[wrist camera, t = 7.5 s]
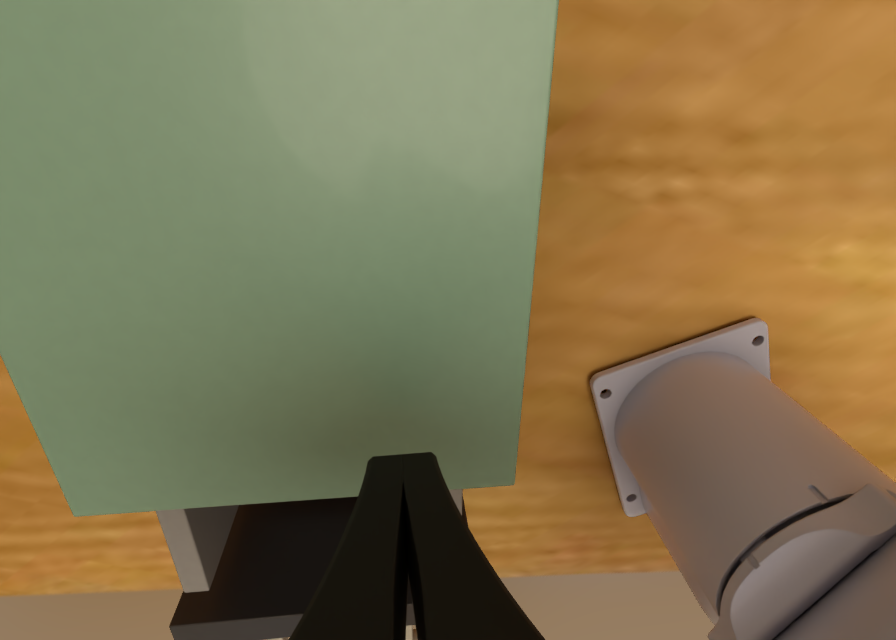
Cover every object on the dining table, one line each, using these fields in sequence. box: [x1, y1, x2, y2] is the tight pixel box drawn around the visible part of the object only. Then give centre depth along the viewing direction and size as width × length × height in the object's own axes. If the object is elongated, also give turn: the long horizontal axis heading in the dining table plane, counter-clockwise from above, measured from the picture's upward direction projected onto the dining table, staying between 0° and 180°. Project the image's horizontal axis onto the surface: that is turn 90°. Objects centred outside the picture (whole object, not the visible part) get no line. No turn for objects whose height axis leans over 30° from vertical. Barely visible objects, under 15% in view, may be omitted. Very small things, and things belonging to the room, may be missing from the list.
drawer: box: [156, 489, 468, 640], centre depth 19 cm, size 16×10×6 cm, turn 0°
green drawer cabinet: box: [0, 0, 559, 517], centre depth 14 cm, size 13×12×8 cm
